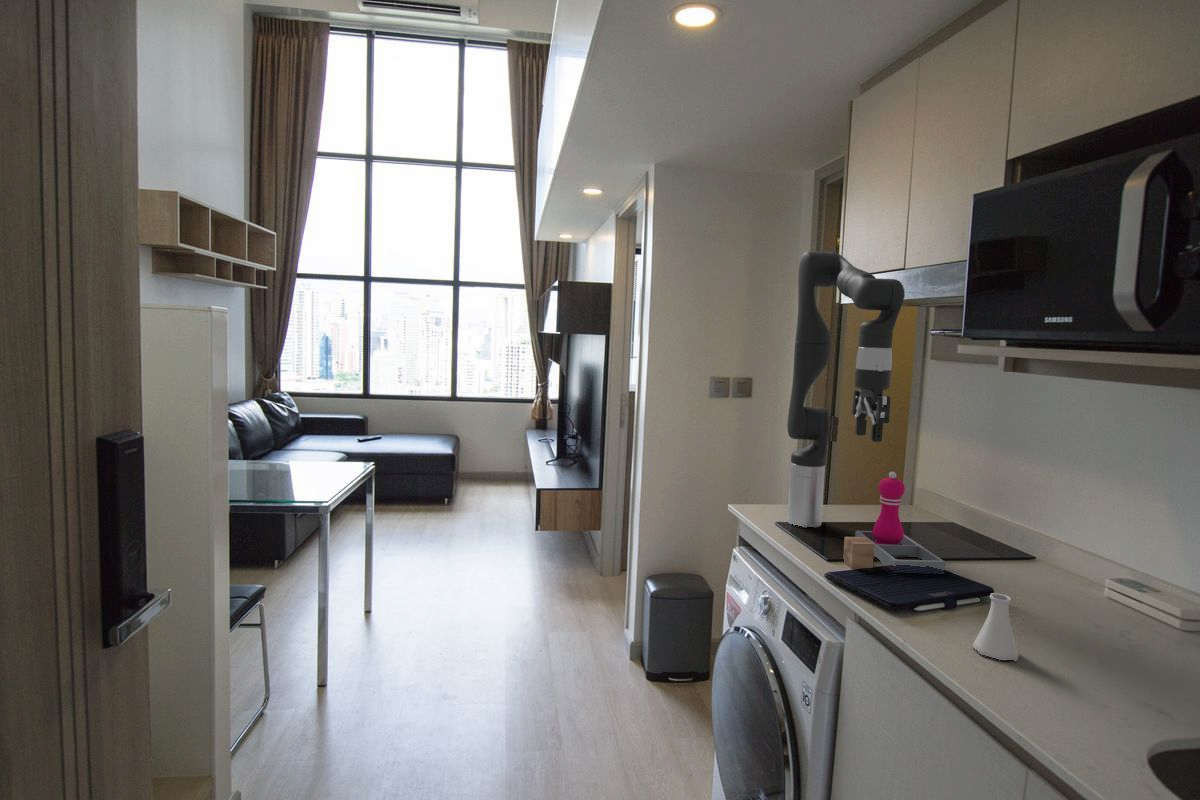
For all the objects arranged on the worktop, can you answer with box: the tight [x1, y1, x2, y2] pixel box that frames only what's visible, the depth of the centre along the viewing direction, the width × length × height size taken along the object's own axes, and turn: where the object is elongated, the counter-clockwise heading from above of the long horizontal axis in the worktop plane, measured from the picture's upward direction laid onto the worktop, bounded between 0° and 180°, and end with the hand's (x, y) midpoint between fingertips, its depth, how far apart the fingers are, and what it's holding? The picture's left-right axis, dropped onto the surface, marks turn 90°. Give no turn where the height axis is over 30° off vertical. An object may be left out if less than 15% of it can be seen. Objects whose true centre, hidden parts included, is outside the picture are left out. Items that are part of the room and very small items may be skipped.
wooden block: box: [842, 536, 875, 570], centre depth 157 cm, size 5×5×6 cm
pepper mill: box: [872, 471, 906, 545], centre depth 167 cm, size 7×7×20 cm
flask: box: [971, 592, 1020, 661], centre depth 115 cm, size 7×7×10 cm
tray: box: [854, 530, 946, 571], centre depth 163 cm, size 22×12×3 cm, turn 1°
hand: (868, 438), depth 154 cm, fingers open, 8 cm apart
